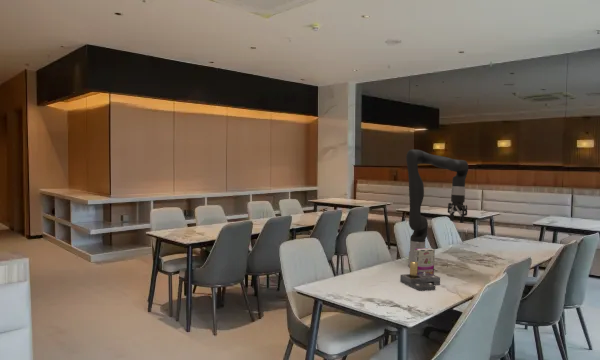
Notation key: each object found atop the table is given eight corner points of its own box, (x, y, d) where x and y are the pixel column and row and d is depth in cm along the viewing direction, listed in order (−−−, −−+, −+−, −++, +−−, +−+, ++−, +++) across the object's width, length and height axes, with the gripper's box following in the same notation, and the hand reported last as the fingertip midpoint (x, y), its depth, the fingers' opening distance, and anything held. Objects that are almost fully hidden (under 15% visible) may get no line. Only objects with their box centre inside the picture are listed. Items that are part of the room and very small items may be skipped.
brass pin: (407, 282, 245) (408, 261, 245) (414, 282, 247) (415, 261, 246) (412, 284, 242) (412, 263, 241) (418, 284, 243) (419, 262, 243)
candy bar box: (429, 275, 264) (430, 247, 264) (433, 277, 260) (435, 249, 259) (412, 275, 262) (413, 248, 261) (416, 278, 257) (418, 250, 256)
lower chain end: (400, 281, 247) (400, 277, 247) (415, 280, 251) (415, 276, 251) (419, 291, 230) (419, 286, 230) (435, 289, 234) (435, 284, 234)
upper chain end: (400, 281, 247) (400, 273, 247) (428, 279, 254) (429, 271, 253) (410, 286, 238) (410, 278, 238) (439, 284, 244) (440, 276, 244)
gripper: (471, 195, 253) (470, 223, 254) (455, 193, 266) (453, 220, 267) (461, 195, 251) (459, 223, 251) (444, 193, 264) (443, 220, 265)
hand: (456, 221), depth 259 cm, fingers open, 8 cm apart
